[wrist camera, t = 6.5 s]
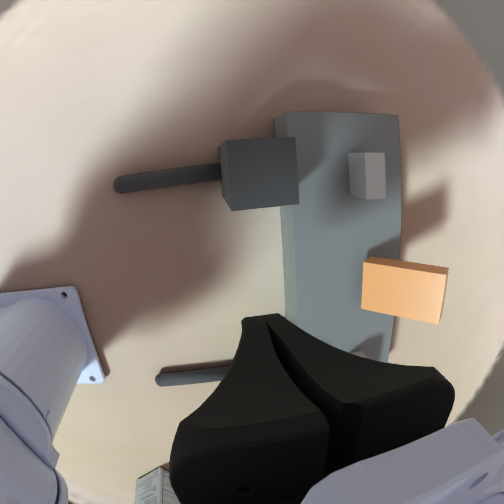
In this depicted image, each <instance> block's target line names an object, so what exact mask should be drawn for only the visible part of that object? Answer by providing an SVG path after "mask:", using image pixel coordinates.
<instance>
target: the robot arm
mask: <svg viewBox="0 0 504 504" xmlns="http://www.w3.org/2000/svg"><path fill="white" fill-rule="evenodd" d="M63 292H65V293H66V294H67V297H66V296H64V295H63ZM241 322H242V334H241V338H240V342H239V346H238V349H237V351H236V354H235V357H234V359H233V361H232V363H231V366H230V367H229V369H228V371H227V373H226V375H225V376H224V378H223V379H222V381H221V382H220V384H219V385H218V387H217V388H216V389H215V390H214V392H213V393H212V394H211V395H210V396H209V397H208V398H207V399H206V401H205V402H204V403H203V404H202V405H201V406H200V407H199V408H198V409H197V410H195V411H194V412H193V413H191V414H190V415H189V416H188V417H186V418H185V419H184V420H182V421H181V422H180V423H179V426H178V429H177V432H176V435H175V438H174V441H173V445H172V450H171V455H170V466H169V479H170V483H171V487H172V489H173V491H174V493H175V495H176V497H177V498H178V500H179V502H180V504H504V429H503V430H501V431H500V432H498V433H497V434H495V435H494V436H492V437H491V435H489V433H488V432H487V431H486V430H485V429H484V428H483V427H482V426H481V425H480V424H479V423H478V422H477V421H476V420H475V419H474V418H470V419H466V420H462V421H459V422H455V423H453V424H451V425H449V426H447V427H445V424H446V422H447V420H448V417H449V415H450V412H451V410H452V407H453V403H454V399H455V390H454V388H453V386H452V384H451V383H450V382H449V381H448V380H447V379H446V378H445V377H444V376H443V375H442V374H441V373H440V372H439V371H438V370H436V369H435V368H434V367H424V366H406V365H398V364H391V363H385V362H380V361H375V360H371V359H368V358H364V357H360V356H357V355H354V354H351V353H348V352H346V351H343V350H341V349H338V348H336V347H333V346H331V345H329V344H327V343H325V342H323V341H321V340H319V339H317V338H316V337H314V336H312V335H310V334H309V333H307V332H305V331H304V330H302V329H301V328H299V327H298V326H296V325H295V324H293V323H292V322H290V321H289V320H287V319H286V318H284V317H283V316H281V315H280V314H278V313H275V314H268V315H261V316H253V317H246V318H244V319H243V320H242V321H241ZM91 376H93V377H95V378H92V377H91ZM104 380H105V375H104V372H103V369H102V367H101V364H100V361H99V358H98V356H97V353H96V350H95V347H94V344H93V341H92V338H91V335H90V332H89V329H88V325H87V322H86V319H85V316H84V312H83V309H82V305H81V302H80V298H79V294H78V291H77V289H76V288H75V287H73V286H65V287H55V288H46V289H36V290H27V291H17V292H7V293H0V504H68V489H67V485H66V482H65V480H64V478H63V477H62V476H61V474H60V473H59V472H58V471H57V470H56V469H55V467H56V464H57V461H58V458H59V455H60V454H59V453H58V452H57V451H56V450H55V448H54V447H53V445H52V442H53V439H54V437H55V434H56V431H57V429H58V426H59V424H60V422H61V419H62V417H63V414H64V412H65V409H66V407H67V405H68V402H69V400H70V398H71V395H72V393H73V391H74V389H75V386H76V384H92V383H103V382H104ZM444 427H445V428H444Z"/></svg>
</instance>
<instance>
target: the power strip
mask: <svg viewBox="0 0 504 504" xmlns="http://www.w3.org/2000/svg"><path fill="white" fill-rule="evenodd" d="M274 128H275V138H276V137H295V140H296V154H297V168H298V184H299V202H300V204H297V205H286V206H280V211H281V227H282V244H283V263H284V283H285V305H286V319H287V320H289V321H290V322H292V323H293V324H295V325H296V326H298V327H299V328H301V329H302V330H304V331H305V332H307V333H309V334H310V335H312V336H314V337H316V338H317V339H319V340H321V341H323V342H325V343H327V344H329V345H331V346H333V347H336V348H338V349H341V350H343V351H346V352H348V353H351V354H354V355H357V356H360V357H364V358H368V359H371V360H375V361H380V362H385V363H388V356H389V350H390V344H391V337H392V329H393V322H394V316H393V315H389V314H384V313H379V312H375V311H370V310H365V309H361V301H362V282H363V262H364V261H365V260H366V259H368V258H369V257H370V256H372V257H379V258H386V259H393V260H399V257H400V238H401V156H400V137H399V122H398V116H397V115H385V114H369V113H347V112H286V113H284V114H282V115H280V116H278V117H276V118H274Z"/></svg>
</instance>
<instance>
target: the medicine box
mask: <svg viewBox="0 0 504 504" xmlns="http://www.w3.org/2000/svg"><path fill="white" fill-rule="evenodd" d="M134 504H180V502H179V500H178V498H177V497H176V495H175V493H174V491H173V489H172V487H171V483H170V479H169V472H168V471H166V470H164V469H162V468H161V467H160V468H158V469H156V470H154V471H152V472H151V473H149V474H147V475H145V476H144V477H142V478H140V479H138V480H137V481H136V488H135V502H134Z"/></svg>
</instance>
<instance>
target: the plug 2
mask: <svg viewBox="0 0 504 504" xmlns="http://www.w3.org/2000/svg"><path fill="white" fill-rule="evenodd" d="M229 367H230V366H226V367H218V368H210V369H201V370H192V371H182V372H171V373H160V374H158V375H157V376H156V378H155V381H156V383H157V385H159V386H174V385H185V384H195V383H205V382H213V381H221V380H222V379H223V378H224V376H225V375H226V373H227V371H228V369H229Z"/></svg>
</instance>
